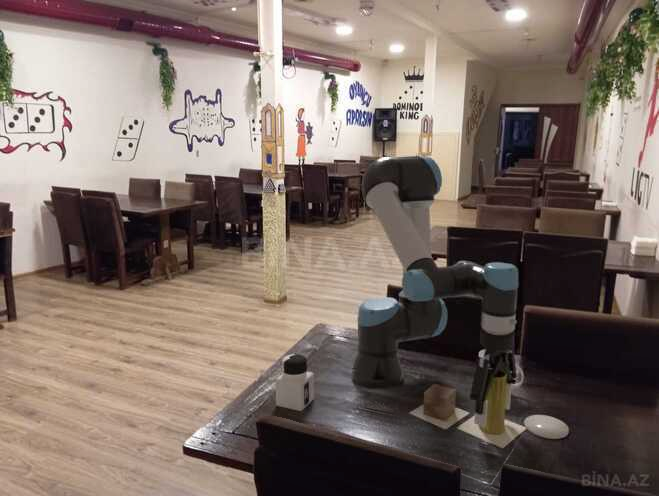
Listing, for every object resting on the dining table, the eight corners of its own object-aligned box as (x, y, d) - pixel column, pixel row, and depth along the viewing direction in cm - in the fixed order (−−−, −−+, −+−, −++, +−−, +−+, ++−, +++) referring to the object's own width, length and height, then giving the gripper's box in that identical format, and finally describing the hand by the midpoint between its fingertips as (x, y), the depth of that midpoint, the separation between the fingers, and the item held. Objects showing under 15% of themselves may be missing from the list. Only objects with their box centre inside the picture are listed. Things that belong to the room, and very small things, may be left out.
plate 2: (456, 429, 125) (456, 427, 125) (481, 411, 133) (481, 409, 133) (502, 449, 117) (502, 448, 116) (526, 428, 125) (526, 427, 125)
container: (314, 398, 140) (314, 354, 138) (301, 412, 133) (300, 365, 131) (289, 393, 144) (288, 349, 141) (275, 406, 137) (274, 360, 134)
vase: (477, 431, 123) (480, 376, 120) (480, 419, 129) (483, 365, 126) (504, 436, 121) (507, 380, 118) (505, 423, 126) (509, 369, 124)
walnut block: (423, 414, 131) (424, 392, 130) (433, 404, 136) (434, 383, 135) (445, 421, 128) (446, 399, 127) (454, 411, 133) (455, 389, 131)
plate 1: (408, 414, 132) (408, 412, 132) (433, 399, 140) (433, 398, 139) (445, 430, 124) (445, 429, 124) (469, 413, 132) (469, 412, 132)
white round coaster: (516, 427, 125) (517, 425, 125) (535, 412, 132) (535, 410, 132) (558, 444, 118) (558, 442, 118) (575, 427, 125) (575, 425, 125)
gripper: (487, 347, 109) (481, 441, 114) (535, 321, 125) (529, 404, 129) (456, 338, 114) (452, 428, 119) (506, 314, 130) (501, 394, 135)
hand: (492, 416), depth 124 cm, fingers open, 11 cm apart
